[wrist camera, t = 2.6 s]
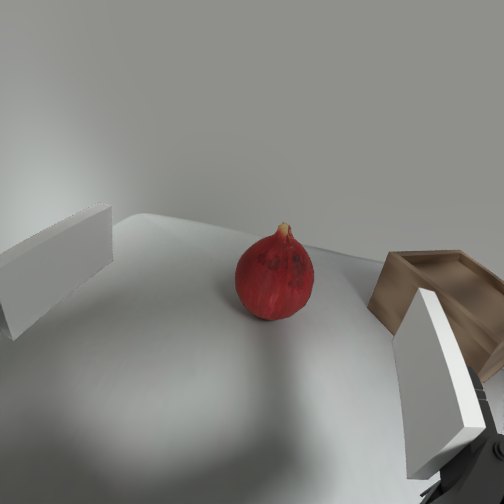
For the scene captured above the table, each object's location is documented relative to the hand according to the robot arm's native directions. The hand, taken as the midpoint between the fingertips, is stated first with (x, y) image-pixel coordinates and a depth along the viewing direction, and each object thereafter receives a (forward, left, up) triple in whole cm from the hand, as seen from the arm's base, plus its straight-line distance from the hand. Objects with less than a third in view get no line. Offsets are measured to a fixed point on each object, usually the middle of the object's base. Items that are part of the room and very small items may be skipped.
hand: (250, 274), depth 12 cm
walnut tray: (+1, -23, -9) cm, 25 cm away
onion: (+8, -6, -10) cm, 14 cm away
